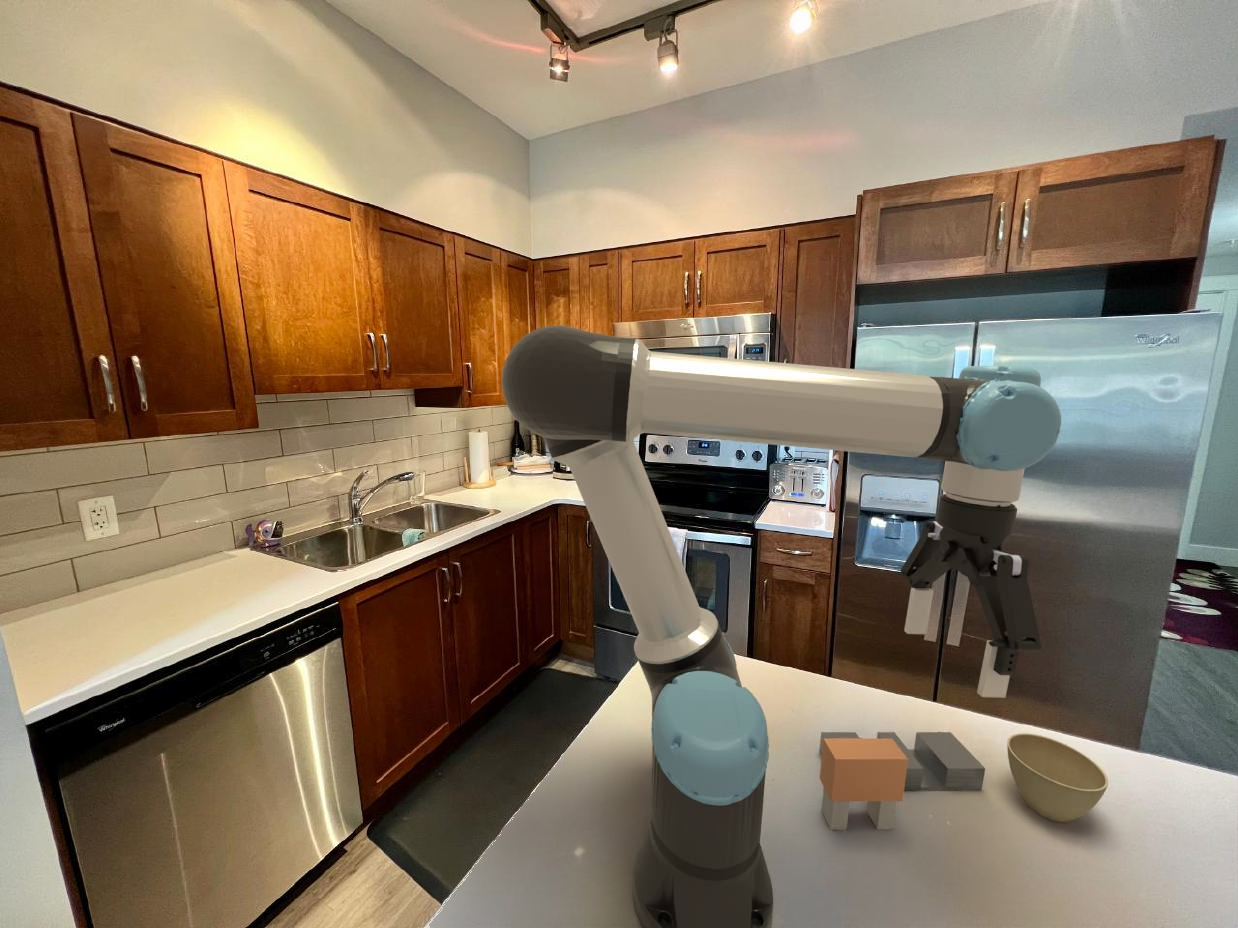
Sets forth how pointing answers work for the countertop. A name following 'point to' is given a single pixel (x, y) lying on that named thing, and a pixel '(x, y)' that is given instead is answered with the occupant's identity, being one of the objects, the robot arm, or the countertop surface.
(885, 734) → the grey block fixture
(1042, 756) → the beige planter bowl
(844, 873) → the countertop surface
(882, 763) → the orange block
